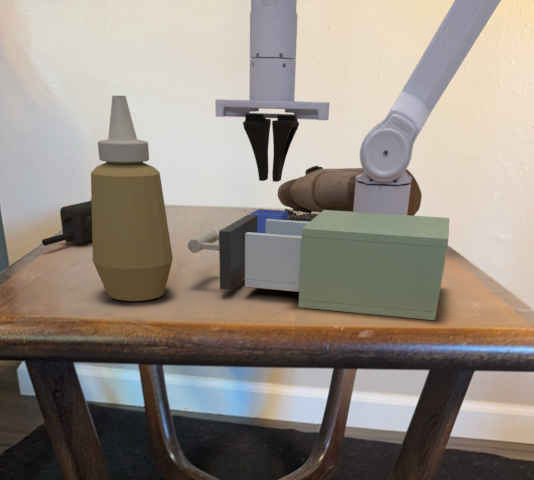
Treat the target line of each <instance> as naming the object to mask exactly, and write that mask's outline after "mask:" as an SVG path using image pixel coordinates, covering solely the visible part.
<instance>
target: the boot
mask: <svg viewBox="0 0 534 480" xmlns="http://www.w3.org/2000/svg"><path fill="white" fill-rule="evenodd" d="M405 171H406V173H407V174H408V175H409V176H411V177H412V181H411V188H410V196H409V204H408V211H407V215H411V216H416V214H417V213H418V211H419V210H420V208H421V205H422V204H421V203H422V191H421V188H420V186H419V183H418V180H416V178H415V176H414V175H413V174H412V172H410V170H408V168H407V169H406V170H405ZM363 172H364V170H363V168H362V167H351V168H350V167H348V168H347V167H345V168H344V167H343V168H323V166H319V165H314V166H310V167H309V168H307V169H306V170H305V172H304V173H305V175H303V176H299V177H298V178H293V179H290V180H287V181H285V182H283V183H282V184H281V185H279V187H278V189H277V198H278V201H279V202H280V204H282V205H283V206H284V207H287V208H290V209H292V211H293V212H294V213H299V212H300V213H305V214H312V213H313V212H314V213H321V212H322V211H323V210H332V211H348V212H353V206H354V195H355V183H356V181H357V180H356V176H357V175H360V174H362V173H363Z"/></svg>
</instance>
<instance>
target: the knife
mask: <svg viewBox="0 0 534 480" xmlns="http://www.w3.org/2000/svg"><path fill="white" fill-rule="evenodd" d="M284 211H288V214H290V215H298V214H297V212H295V211H293V209H292V210H291V209H288V208H285V209H284Z"/></svg>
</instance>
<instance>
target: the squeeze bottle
mask: <svg viewBox="0 0 534 480" xmlns="http://www.w3.org/2000/svg"><path fill="white" fill-rule="evenodd" d="M110 105H111V107H110V116H109V117H110V118H109V127H108V138H107V139H103V140H98V142H97V149H98V150H97V151H98V160H99V161H101V162H104V163H101V164H99V165H97V166H96V167H94V169H93V170H92V171H91V172H90V192H91V193H90V195H91V197H90V198H91V201H92V240H91V241H92V263H93V265H94V267H95V269H96V272H97V274H98V277H99V278H100V280H101V283H102V285H103V287H104V289H105V292H106V294H107V296H109V297H110V298H111V299H115V300H118V301H126V302H142V301H149V300H153V299H158V298H160V297H162V296H164V295H165V291H166V288H167V284H168V280H169V275H170V273H171V269H172V268H171V267H172V264H173V260H174V259H173V251H172V244H171V237H170V232H169V225H168V217H167V211H166V205H165V199H164V192H163V191H164V190H163V185H162V179H161V172H160V171H159V170H158V169H157V168H156V167H155V166H153V165H151V164H147V163H145V162H148V161H150V152H149V151H150V150H149V142H148V141H146V140H142V139H141V140H140V139H138V137H137V134H136V130H135V126H134V123H133V119H132V118H133V117H132V114H131V112H130V107H129V104H128V100H127V96H126V95H111V104H110Z"/></svg>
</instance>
